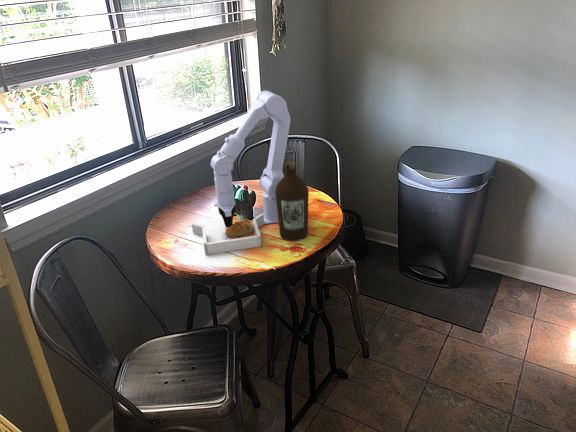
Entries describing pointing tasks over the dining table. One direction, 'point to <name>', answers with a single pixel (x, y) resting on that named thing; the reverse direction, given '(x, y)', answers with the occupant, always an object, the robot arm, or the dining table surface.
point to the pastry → (240, 228)
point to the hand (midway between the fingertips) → (228, 226)
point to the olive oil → (292, 205)
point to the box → (232, 243)
